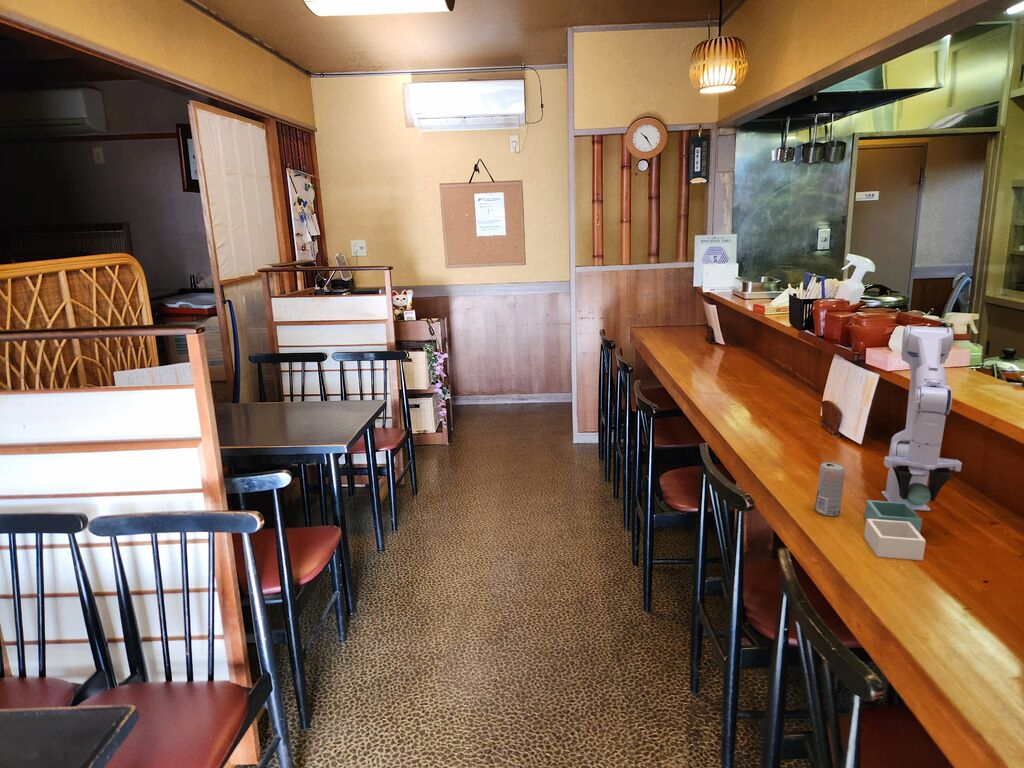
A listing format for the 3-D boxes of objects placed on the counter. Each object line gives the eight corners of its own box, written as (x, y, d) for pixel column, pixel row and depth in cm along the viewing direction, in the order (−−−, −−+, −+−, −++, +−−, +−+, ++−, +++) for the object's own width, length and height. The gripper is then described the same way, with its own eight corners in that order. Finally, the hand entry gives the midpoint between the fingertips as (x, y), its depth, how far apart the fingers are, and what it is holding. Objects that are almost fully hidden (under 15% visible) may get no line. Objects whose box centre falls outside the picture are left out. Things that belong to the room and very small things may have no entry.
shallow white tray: (864, 536, 139) (866, 518, 138) (906, 540, 137) (909, 521, 136) (877, 556, 131) (879, 537, 130) (922, 560, 129) (925, 540, 128)
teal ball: (899, 498, 142) (902, 478, 140) (923, 500, 141) (926, 479, 139) (908, 508, 137) (911, 487, 136) (933, 510, 136) (936, 489, 135)
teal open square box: (864, 517, 148) (866, 500, 147) (904, 520, 146) (907, 502, 145) (876, 534, 140) (879, 516, 139) (919, 538, 138) (922, 519, 137)
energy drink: (832, 506, 154) (837, 461, 151) (844, 516, 149) (850, 469, 146) (810, 507, 154) (815, 462, 151) (822, 517, 149) (827, 470, 146)
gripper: (895, 445, 133) (887, 504, 136) (972, 448, 130) (962, 508, 133) (883, 434, 139) (876, 490, 143) (956, 437, 137) (946, 494, 140)
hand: (916, 498), depth 139 cm, fingers closed on teal ball, 5 cm apart
